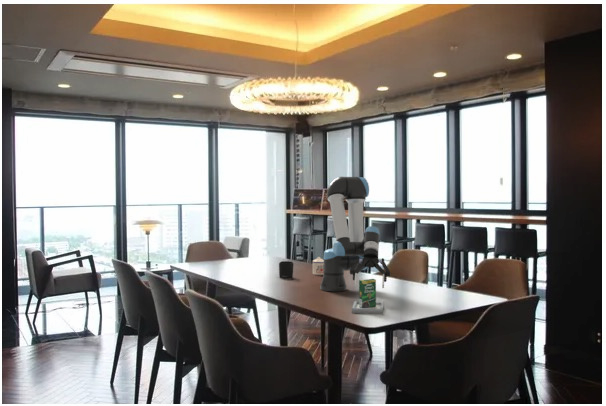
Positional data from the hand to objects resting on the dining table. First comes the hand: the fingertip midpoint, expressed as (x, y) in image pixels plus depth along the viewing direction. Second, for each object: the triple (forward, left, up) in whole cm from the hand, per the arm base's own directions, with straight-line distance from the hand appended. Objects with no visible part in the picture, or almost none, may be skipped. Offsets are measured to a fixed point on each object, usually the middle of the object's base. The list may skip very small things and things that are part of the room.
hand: (369, 286), depth 255 cm
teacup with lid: (-37, +93, -10) cm, 100 cm away
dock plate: (0, -11, -9) cm, 15 cm away
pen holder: (-57, +73, -10) cm, 93 cm away
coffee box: (0, -11, -8) cm, 14 cm away
